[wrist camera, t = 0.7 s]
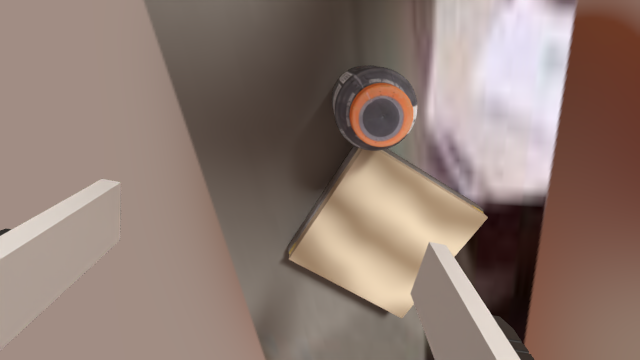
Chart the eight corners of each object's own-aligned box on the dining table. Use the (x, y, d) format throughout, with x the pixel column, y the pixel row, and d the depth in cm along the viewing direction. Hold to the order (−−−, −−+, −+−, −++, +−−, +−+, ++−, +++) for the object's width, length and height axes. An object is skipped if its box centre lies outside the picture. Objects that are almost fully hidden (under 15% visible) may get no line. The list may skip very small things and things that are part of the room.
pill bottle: (407, 86, 32) (449, 101, 22) (372, 140, 34) (395, 178, 23) (352, 51, 31) (369, 49, 21) (319, 109, 33) (318, 134, 22)
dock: (362, 133, 34) (366, 140, 31) (477, 204, 36) (490, 216, 33) (288, 244, 38) (286, 259, 35) (396, 301, 40) (402, 320, 38)
